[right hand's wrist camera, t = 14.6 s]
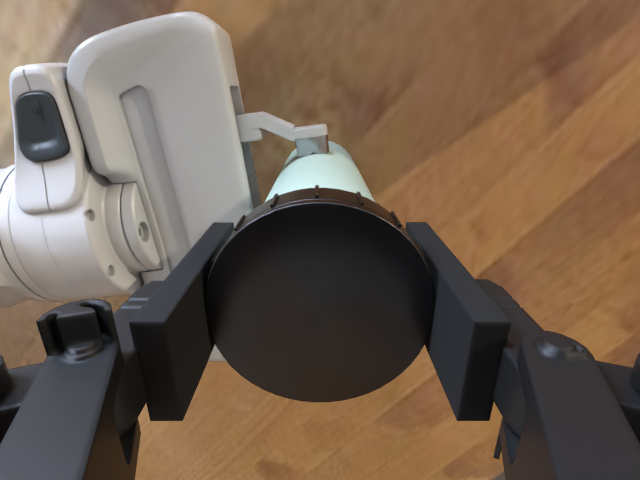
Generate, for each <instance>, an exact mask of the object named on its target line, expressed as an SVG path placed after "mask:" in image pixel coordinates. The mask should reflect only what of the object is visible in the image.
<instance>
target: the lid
mask: <svg viewBox="0 0 640 480" xmlns="http://www.w3.org/2000/svg"><path fill="white" fill-rule="evenodd" d="M424 259H426V256H425V255H424V253H423V252H422V250H421V249H420V247H419V246H418V244H417V243H416V241H414V242H413V240H412V239H411V237H410V236H409V234H408V232H407V231H406V230H405V228H404V227H403V226H402V224H401V222H400V221H399V219H398V218H397V216H396V215H395V213H394V212H393V211H392V212H391V213H390V212H388V211H387V210H386V209H384V208H383V207H382V206H380V205H379V204H377V203H375V202H374V201H372V200H370V199H368V198H366V197H364V196H362V195H361V193H360V192H358V191H357V192H356V193H353V192H349V191H345V190H341V189H333V188H319V185H315V188H306V189H300V190H294V191H291V192H287V193H284V194H281V195H278V193H277V194H274V197H273V198H272V199H269V200H268V201H266V202H264V203H263V204H261V205H259V206H258V207H256V208H255V209H254V210H253V211H251V212H250V213H249V214H248V215H247V216H245V215H243V216H242V217H241V218H240V220H239V221H238V223H237V224H236V226H235V227H234V231H233V233H232V234H231V235H230V237H229V238H228V240H227V242H226V243H225V245H222V247H221V248H220V250H219V251H218V253H217V254H216V256H215V257H214V259H213V260H212V264H213V265H212V267H211V269H210V273H209V276H208V279H207V282H206V289H205V295H204V297H205V312H206V319H207V325H208V328H209V331H210V334H211V337H212V339H213V341H214V343H215V345H216V347H217V348H218V350H219V351H220V353H221V354H222V356H223V357H224V359H225V360H226V361H227V362H228V363H229V364H230V366H231V367H232V368H233V369H235V370H236V371H237V372H238V373H239V374H240V375H241V376H243V377H244V378H245V379H247V380H248V381H250V382H251V383H253V384H254V385H256V386H258V387H260V388H262V389H263V390H266V391H268V392H270V393H273V394H275V395H278V396H282V397H285V398H288V399H293V400H299V401H307V402H333V401H342V400H346V399H351V398H355V397H358V396H361V395H364V394H367V393H370V392H372V391H374V390H376V389H378V388H380V387H382V386H384V385H385V384H387V383H389V382H390V381H392V380H393V379H394V378H396V377H397V376H398V375H400V374H401V373H402V372H403V371H404V370H405V369H406V368H407V367H408V366H409V365H410V364H411V363H412V362H413V361H414V359H415V358H416V357H417V356H418V354H419V353H420V351H421V350H422V348H423V346H424V344H425V343H426V341H427V338H428V336H429V333H430V331H431V327H432V324H433V318H434V310H435V290H434V285H433V280H432V276H431V274H430V271H429V268H428V265H427V263H426V262H425V260H424Z"/></svg>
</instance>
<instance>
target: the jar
mask: <svg viewBox="0 0 640 480" xmlns="http://www.w3.org/2000/svg"><path fill="white" fill-rule="evenodd" d="M328 143H329V153H325V154H316V153H314V152H313V153H312V154H311V155H308V156H302V157H298V155H297V149H295V150H294V151H293V152H292V153H291V154H290V156H289V157H288V159H287V161H286V163H285V165H284V167H283V168H282V170H281V172H280V174H279V176H278V178H277V180H276V182H275V184H274V185H273V187H272V189H271V191H270V193H269V195H268V197H267V199H266V201H268V200H269V199H272V198H273V197H274V194H277V193H278V195H281V194H284V193H287V192H291V191H294V190H300V189H306V188H315V185H319V188H333V189H341V190H345V191H349V192H353V193H356V192H357V191H358V192H360V193H361V195H362V196H364V197H366V198H368V199H370V200H372V201H374V199H373V197H372V195H371V193H370V191H369V189H368V187H367V186H366V184H365V182H364V180H363V178H362V176H361V174H360V172H359V170H358V168H357V167H356V165H355V163H354V161H353V159H352V157H351V156H350V154H349V153H348V152H347V151H346V150H345V149H344V148H343V147H341V146H340V145H338V144H336V143H334V142H331V141H328ZM266 201H265V202H266ZM374 202H375V201H374Z"/></svg>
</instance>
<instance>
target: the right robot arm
mask: <svg viewBox="0 0 640 480" xmlns="http://www.w3.org/2000/svg"><path fill="white" fill-rule="evenodd" d="M405 230H406V231H407V232H408V234H409V236H410V237H411V239H412V240H413V242H414V241H416V243H417V244H418V246H419V247H420V249H421V250H422V252H423V253H424V255H425V256H426V259H424V260H425V262H426V263H427V265H428V268H429V271H430V274H431V276H432V280H433V285H434V290H435V310H434V318H433V324H432V327H431V331H430V333H429V336H428V338H427V341H426V343H425V346H426V348H427V351H428V353H429V355H430V358H431V360H432V363H433V365H434V367H435V370H436V372H437V374H438V377H439V379H440V381H441V384H442V386H443V389H444V391H445V393H446V396H447V398H448V400H449V403H450V405H451V407H452V410H453V412H454V414H455V417H456V419H457V421H489V420H490V415H491V411H492V406H493V402H495V404H496V406H497V407H498V409H499V411H500V413H501V414H502V416H503V417H502V422H501V426H500V430H499V434H498V438H497V443H496V447H495V452H494V458H496V459H499V457H500V453H501V451H502V457H503V464H504V472H505V479H506V480H640V354H638V356H637V358H636V361H635V364H634V366H633V368H631V367H626V366H620V365H615V364H610V363H605V362H600V361H596V360H595V359H594V357H593V355H592V354H591V353H590V352H589V351H588V349H587V348H586V347H584V346H583V345H581V344H580V343H578V342H577V341H576V340H573V339H571V338H569V337H567V336H564V335H562V334H558V333H554V332H550V331H544V330H543V329H542V328H541V327H540V326H539V325H538V324H537V323H536V322H535V321H534V320H533V319H532V318H531V317H530V316H529V315H528V314H527V313H526V312H525V311H524V309H523V308H520V305H519V304H518V303H517V302H516V301H515V300H514V299H512V297H511V296H510V295H509V294H508V293H507V292H506V291H505V290H504V289H503V288H502V287H500V286H499V285H497V284H495V283H493V282H491V281H490V280H475V279H474V278H473V277H472V276H471V274H470V273H469V272H468V271H467V270H466V269H465V267H464V266H463V265H462V264H461V263H460V261H459V260H458V259H457V258H456V257H455V256H454V254H453V253H452V252H451V251H450V250H449V249H448V247H447V246H446V245H445V244H444V243H443V241H442V240H441V239H440V238H439V237H438V236H437V234H436V233H435V232H434V231H433V230H432V229H431V227H430V226H429V225H428V224H427V223H426V222H406V229H405ZM233 231H234V222H213V224H212V225H211V226H210V227H209V228H208V229H207V231H206V232H205V233H204V234H203V235H202V237H201V238H200V239H199V240H198V241H197V242H196V244H195V245H194V246H193V247H192V248H191V249H190V251H189V252H188V253H187V254H186V255H185V257H184V258H183V259H182V260H181V261H180V262H179V264H178V265H177V266H176V267H175V268H174V269H173V271H172V272H171V273H170V274H169V275H168V276H167V278H166V279H165V280H164V281H151V282H149V283H147V284H145V285H144V286H142V287H140V288H138V289H137V290H136V291H135V292H134V293H133V294H132V295H131V296H130V297H129V298H128V301H125V303H124V304H123V305H122V306H121V307H120V309H118V310H117V311H116V312H115V313H114V314H113V312H112V308H111V304H110V303H108V302H107V301H105V300H99V299H86V300H79V301H75V302H70V303H67V304H64V305H61V306H59V307H56V308H54V309H52V310H50V311H49V312H47V313H45V314H43V315H42V316H41V317H40V318H39V319H38V320H37V321H36V323H37V326H38V329H39V332H40V335H41V338H42V341H43V344H44V347H45V350H46V353H47V358H46V359H45V361H44V362H43V363H39V364H34V365H28V366H23V367H18V368H13V369H8V370H7V367H6V364H5V362H4V359H3V357H2V356H1V355H0V480H135V473H136V465H137V458H138V450H139V443H140V435H141V432H140V426H139V422H138V416H139V414H140V413H141V411H142V409H143V407H144V405H145V404H146V403H147V407H148V412H149V416H150V421H183V419H184V416H185V414H186V412H187V409H188V407H189V404H190V402H191V400H192V397H193V395H194V393H195V390H196V388H197V386H198V383H199V381H200V379H201V376H202V374H203V371H204V369H205V367H206V364H207V362H208V360H209V357H210V355H211V353H212V350H213V348H214V346H215V343H214V341H213V339H212V337H211V334H210V331H209V328H208V325H207V319H206V312H205V297H204V295H205V289H206V282H207V279H208V276H209V273H210V269H211V267H212V265H213V264H212V260H213V259H214V257H215V256H216V254H217V253H218V251H219V250H220V248H221V247H222V245H225V243H226V242H227V240H228V238H229V237H230V235H231V234H232V233H233Z"/></svg>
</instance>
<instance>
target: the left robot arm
mask: <svg viewBox="0 0 640 480" xmlns="http://www.w3.org/2000/svg"><path fill="white" fill-rule="evenodd" d="M9 89H10V99H11V108H12V118H13V130H14V145H15V164H14V165H11V166H9V167H7V168H5V169H0V309H1V308H6V307H10V306H13V305H16V304H19V303H21V302H23V301H26V300H29V299H34V300H39V301H46V302H69V301H77V300H86V299H96V298H105V297H113V296H122V295H132V294H133V293H134V292H135V291H136V290H137V289H138V288H140V287H142V286H144V285H145V284H147V283H149V282H151V281H164V280H165V279H166V278H167V276H168V275H169V274H170V273H171V272H172V271H173V269H174V268H175V267H176V266H177V265H178V264H179V262H180V261H181V260H182V259H183V258H184V257H185V255H186V254H187V253H188V252H189V251H190V249H191V248H192V247H193V246H194V245H195V244H196V242H197V241H198V240H199V239H200V238H201V237H202V235H203V234H204V233H205V232H206V231H207V229H208V228H209V227H210V226H211V225H212V224H213V222H234V227H235V226H236V224H237V223H238V221H239V220H240V218H241V217H242V216H243V215H245V216H247V215H248V214H249V213H250V212H251V211H253V210H254V209H255V208H256V207H258V206H259V205H261V204H262V203H261V198H260V193H259V187H258V182H257V177H256V171H255V166H254V161H253V155H252V150H251V145H250V141H257V140H261V139H262V138H264V137H265V136H266V135H267V131H269V132H271V133H273V134H276V135H278V136H281V137H283V138H286V139H288V140H290V141H293V142H295V143H296V149H297V155H298V157H302V156H308V155H311V154H312V153H313V152H314V153H316V154H325V153H329V143H328V134H327V125H326V124H318V125H310V126H302V127H295V125H294V124H291V123H289V122H287V121H284V120H282V119H280V118H278V117H275V116H273V115H271V114H268V113H266V112H264V111H262V112H255V113H247V114H245V113H244V108H243V102H242V97H241V92H240V86H239V81H238V76H237V70H236V65H235V60H234V54H233V49H232V44H231V39H230V37H229V35H228V33H227V32H226V31H225V30H224V29H222V28H221V27H220V26H219V25H218V24H217V23H216V22H214V21H213V20H211V19H210V18H208V17H206V16H205V15H203V14H200V13H197V12H191V11H189V12H178V13H171V14H166V15H162V16H157V17H152V18H148V19H144V20H140V21H136V22H133V23H129V24H126V25H123V26H119V27H116V28H113V29H110V30H108V31H105V32H102V33H99V34H97V35H95V36H92V37H91V38H89V39H87V40H85V41H84V42H83V43H81V44H80V45H79V46H78V47H77V48H76V49H75V50H74V52H73V53H72V55H71V57H70V59H69V62H68V63H41V64H31V65H24V66H20V67H17V68H15V69H14V70H13V71H12V73H11V75H10V81H9ZM208 361H220V362H227V361H226V360H225V359H224V357H223V356H222V354H221V353H220V351H219V350H218V348H217V347H216V345H215V346H214V348H213V350H212V353H211V355H210V357H209V360H208Z"/></svg>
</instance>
